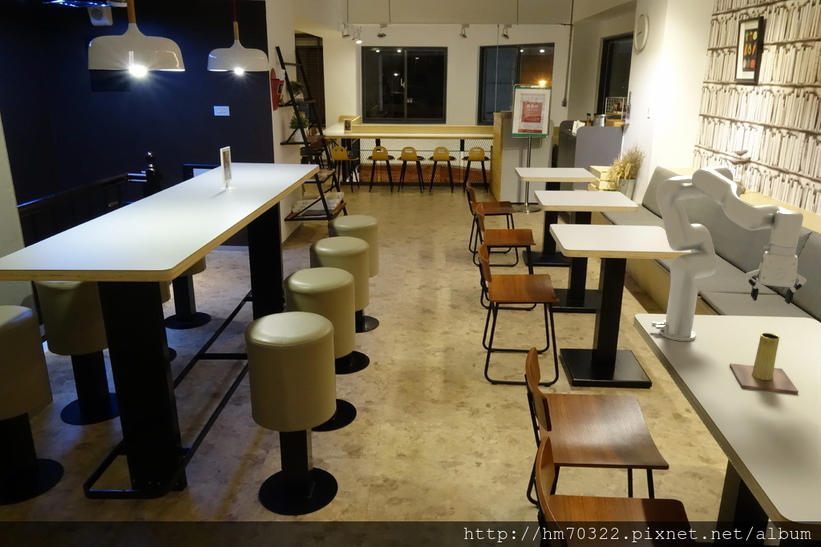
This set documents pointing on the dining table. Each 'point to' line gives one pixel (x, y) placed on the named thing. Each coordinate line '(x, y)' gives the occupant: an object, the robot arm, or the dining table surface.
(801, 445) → the dining table surface
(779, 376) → the coaster board
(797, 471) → the dining table surface
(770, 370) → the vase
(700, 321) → the dining table surface
